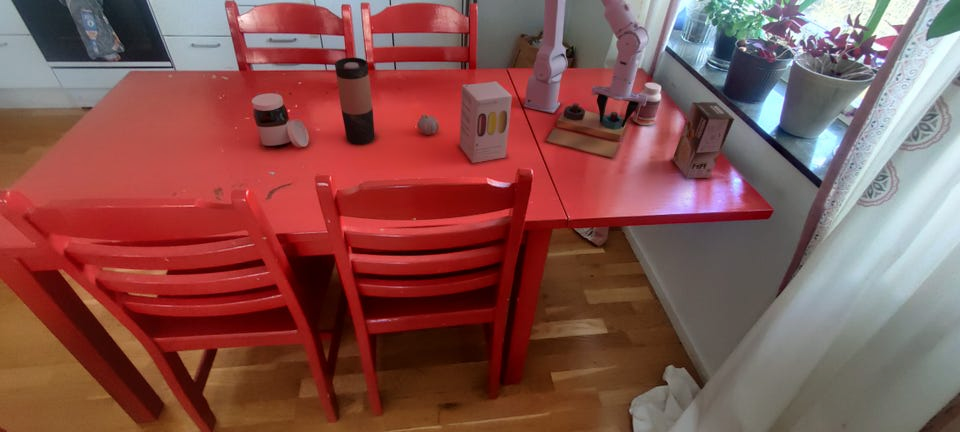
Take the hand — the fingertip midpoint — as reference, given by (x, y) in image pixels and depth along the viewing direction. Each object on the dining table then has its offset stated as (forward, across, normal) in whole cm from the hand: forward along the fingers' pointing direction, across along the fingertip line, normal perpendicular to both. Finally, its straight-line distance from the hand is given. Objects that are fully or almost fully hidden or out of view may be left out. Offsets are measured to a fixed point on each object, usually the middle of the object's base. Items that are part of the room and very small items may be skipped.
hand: (612, 123), depth 129 cm
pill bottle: (+3, +8, +11) cm, 14 cm away
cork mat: (+2, -6, -11) cm, 13 cm away
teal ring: (0, 0, 0) cm, 0 cm away
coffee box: (+3, +22, -10) cm, 25 cm away
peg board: (+2, -6, 0) cm, 6 cm away
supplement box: (+3, -28, -28) cm, 39 cm away
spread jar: (+3, -74, -48) cm, 88 cm away
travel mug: (+3, -58, -37) cm, 69 cm away
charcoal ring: (0, -11, 0) cm, 11 cm away
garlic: (+3, -44, -26) cm, 52 cm away
